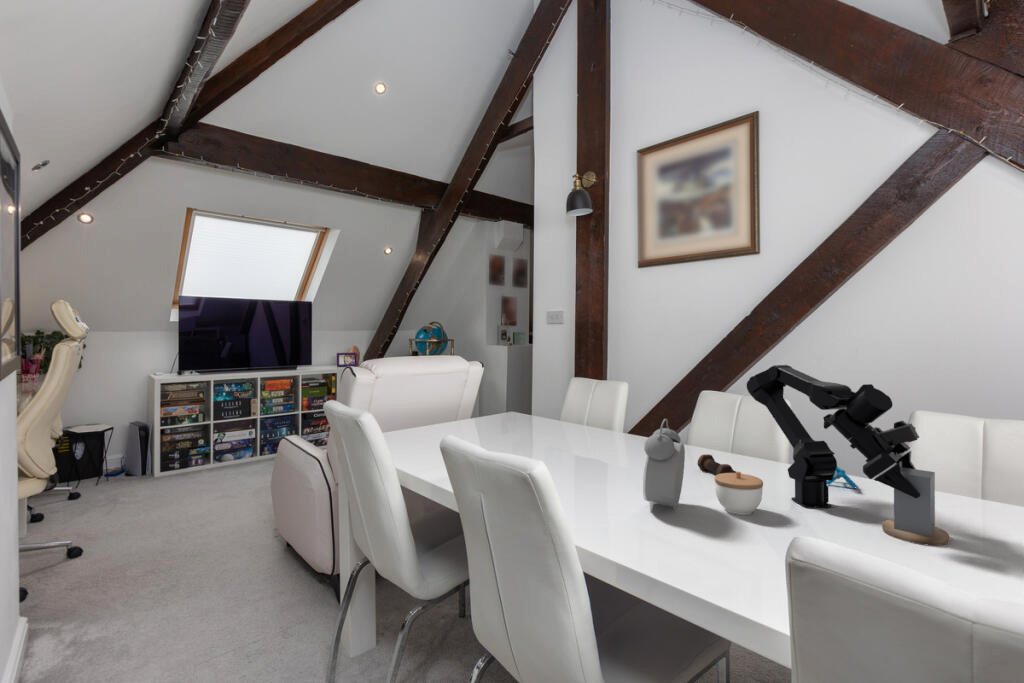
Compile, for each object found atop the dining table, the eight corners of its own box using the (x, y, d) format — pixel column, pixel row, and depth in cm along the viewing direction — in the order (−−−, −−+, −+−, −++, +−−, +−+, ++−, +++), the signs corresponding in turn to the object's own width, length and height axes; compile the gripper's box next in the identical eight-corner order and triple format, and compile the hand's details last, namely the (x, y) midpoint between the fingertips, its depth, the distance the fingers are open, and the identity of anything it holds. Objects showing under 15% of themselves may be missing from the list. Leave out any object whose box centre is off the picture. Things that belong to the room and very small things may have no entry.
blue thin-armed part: (860, 487, 134) (828, 457, 139) (841, 501, 136) (811, 471, 140) (858, 483, 143) (829, 454, 148) (841, 495, 145) (812, 467, 150)
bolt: (732, 490, 145) (702, 474, 160) (745, 480, 146) (715, 465, 160) (723, 473, 144) (694, 459, 159) (737, 463, 145) (707, 450, 160)
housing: (894, 528, 107) (893, 472, 107) (899, 521, 111) (899, 467, 111) (930, 536, 102) (930, 477, 102) (934, 528, 107) (934, 472, 106)
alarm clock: (653, 495, 135) (652, 413, 134) (687, 499, 131) (686, 415, 131) (640, 515, 120) (639, 423, 120) (678, 520, 116) (677, 425, 116)
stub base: (909, 545, 101) (909, 522, 101) (870, 525, 112) (869, 504, 112) (963, 544, 101) (963, 521, 101) (919, 524, 112) (919, 503, 112)
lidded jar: (725, 500, 130) (725, 464, 130) (769, 510, 122) (769, 471, 122) (707, 510, 122) (706, 472, 122) (753, 522, 115) (753, 480, 115)
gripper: (881, 414, 103) (953, 479, 95) (897, 405, 116) (962, 461, 108) (836, 447, 108) (901, 511, 101) (857, 435, 122) (915, 490, 114)
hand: (922, 492), depth 106 cm, fingers open, 9 cm apart
